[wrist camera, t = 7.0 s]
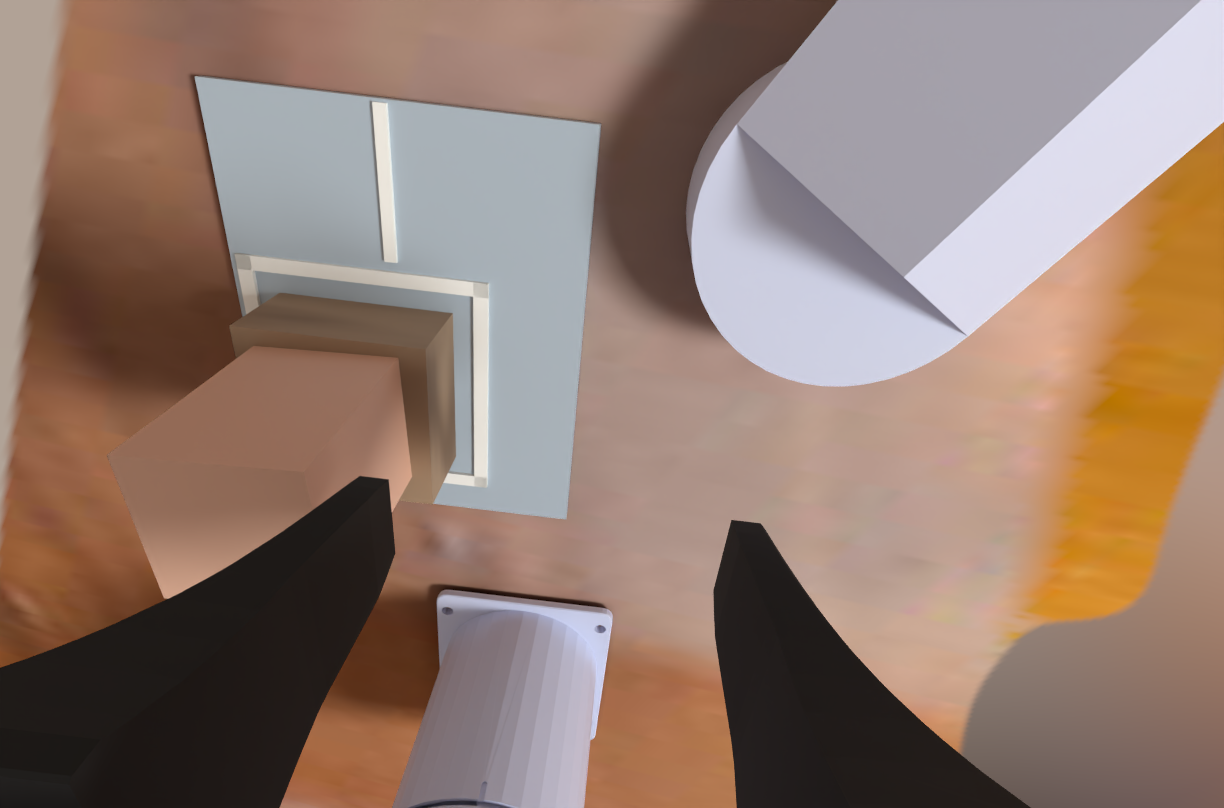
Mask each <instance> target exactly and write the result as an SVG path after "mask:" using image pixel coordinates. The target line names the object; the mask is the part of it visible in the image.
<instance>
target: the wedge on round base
mask: <svg viewBox="0 0 1224 808" xmlns="http://www.w3.org/2000/svg"><path fill="white" fill-rule="evenodd" d="M1223 122H1224V0H838V1H837V2H836V3H835V5H834V6H833V7H832V8H831V10H830V11H829V12H828V13H827V14H826V16H825V17H824V18H823V19H822V21H821V22H820V23H819V24H818V25H817V27H816V28H815V29H814V30H813V32H812V33H811V34H810V35H809V36H808V38H807V39H806V40H805V41H804V43H803V44H802V45H801V46H800V47H799V49H798V50H797V51H796V52H795V54H794V55H793V56H792V57H791V59H790V60H789V61H788V62H786V63H784V64H782V65H780V66H778V67H776V68H775V69H773V70H772V71H770V72H769V73H767V74H766V75H764V76H763V77H761V78H760V79H758V80H757V81H756V82H754V83H753V84H752V85H751V86H750V87H749V88H747V89H746V90H745V91H744V92H743V93H742V94H740V95H739V96H738V98H737V99H736V100H735V101H734V102H733V103H732V104H731V105H730V106H729V107H728V109H727V110H726V111H725V112H724V113H723V115H722V116H721V117H720V119H719V120H718V122H717V123H716V125H715V126H714V127H713V129H712V130H711V132H710V134H709V136H708V138H707V139H706V141H705V143H704V145H703V147H702V149H701V151H700V153H699V156H698V159H697V161H696V164H695V167H694V169H693V173H692V177H691V181H690V185H689V189H688V197H687V206H686V228H687V236H688V242H689V248H690V253H691V259H692V265H693V270H694V276H695V281H696V285H697V288H698V291H699V294H700V297H701V300H702V302H703V304H704V307H705V309H706V311H707V313H708V315H709V317H710V319H711V320H712V322H713V323H714V325H715V326H716V327H717V329H718V330H719V332H720V333H721V335H722V336H723V337H724V338H725V339H726V340H727V341H728V342H729V343H730V344H731V345H732V346H733V347H734V349H735V350H737V351H738V352H739V353H741V354H742V355H743V356H744V357H746V358H747V359H748V360H749V361H751V362H752V363H754V364H756V365H758V366H759V367H761V368H763V369H764V370H766V371H768V372H771V373H773V374H776V375H778V376H780V377H783V378H785V379H789V380H793V381H797V382H801V383H804V384H812V385H820V386H853V385H862V384H869V383H873V382H878V381H882V380H887V379H890V378H893V377H896V376H899V375H902V374H905V373H908V372H910V371H912V370H914V369H916V368H919V367H921V366H923V365H925V364H927V363H929V362H931V361H933V360H934V359H936V358H938V357H939V356H941V355H943V354H944V353H946V352H948V351H949V350H951V349H952V348H953V347H955V346H956V345H957V344H959V343H960V342H961V341H963V340H964V339H965V338H966V337H968V336H969V335H970V334H971V333H973V332H974V331H975V330H976V329H977V328H979V327H980V326H981V325H982V324H983V323H985V322H986V321H987V320H988V319H989V318H990V317H992V316H993V315H994V314H995V313H996V312H998V311H999V310H1000V309H1001V308H1002V307H1004V306H1005V305H1006V304H1007V303H1008V302H1010V301H1011V300H1012V299H1013V298H1014V297H1016V296H1017V295H1018V294H1019V293H1020V292H1021V291H1023V290H1024V289H1025V288H1026V287H1027V286H1029V285H1030V284H1031V283H1032V282H1033V281H1035V280H1036V279H1037V278H1038V277H1039V276H1041V275H1042V274H1043V273H1044V272H1045V271H1046V270H1048V269H1049V268H1050V267H1051V266H1052V265H1054V264H1055V263H1056V262H1057V261H1058V260H1060V259H1061V258H1062V257H1063V256H1064V255H1066V254H1067V253H1068V252H1069V251H1070V250H1072V249H1073V248H1074V247H1075V246H1076V245H1077V244H1079V243H1080V242H1081V241H1082V240H1083V239H1085V238H1086V237H1087V236H1088V235H1089V234H1091V233H1092V232H1093V231H1094V230H1095V229H1097V228H1098V227H1099V226H1100V225H1101V224H1102V223H1104V222H1105V221H1106V220H1107V219H1108V218H1110V217H1111V216H1112V215H1113V214H1114V213H1116V212H1117V211H1118V210H1119V209H1120V208H1122V207H1123V206H1124V205H1125V204H1126V203H1128V202H1129V201H1130V200H1131V199H1132V198H1133V197H1135V196H1136V195H1137V194H1138V193H1139V192H1141V191H1142V190H1143V189H1144V188H1145V187H1147V186H1148V185H1149V184H1150V183H1151V182H1153V181H1154V180H1155V179H1156V178H1157V177H1158V176H1160V175H1161V174H1162V173H1163V172H1164V171H1166V170H1167V169H1168V168H1169V167H1170V166H1172V165H1173V164H1174V163H1175V162H1176V161H1178V160H1179V159H1180V158H1181V157H1182V156H1184V155H1185V154H1186V153H1187V152H1188V151H1189V150H1191V149H1192V148H1193V147H1194V146H1195V145H1197V144H1198V143H1199V142H1200V141H1201V140H1203V139H1204V138H1205V137H1206V136H1207V135H1209V134H1210V133H1211V132H1212V131H1213V130H1214V129H1216V128H1217V127H1218V126H1219V125H1220V124H1222V123H1223Z"/></svg>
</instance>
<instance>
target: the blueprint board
mask: <svg viewBox="0 0 1224 808" xmlns="http://www.w3.org/2000/svg"><path fill="white" fill-rule="evenodd" d="M195 81H196V86H197V91H198V96H199V101H200V106H201V111H202V116H203V121H204V126H205V131H206V136H207V141H208V146H209V151H210V156H211V161H212V166H213V171H214V176H215V181H216V186H217V191H218V196H219V201H220V206H221V211H222V216H223V221H224V227H225V232H226V237H227V242H228V247H229V252H230V257H231V262H232V267H233V272H234V277H235V282H236V287H237V292H238V297H239V302H240V307H241V312H242V317H243V316H245V315H246V314H248V313H249V312H251V311H252V310H254V309H256V308H257V307H259V306H260V305H262V304H263V303H265V302H266V301H268V300H269V299H271V298H272V297H274V296H275V295H277V294H278V293H288V294H296V295H304V296H313V297H321V298H330V299H338V300H346V301H355V302H363V303H371V304H380V305H388V306H397V307H405V308H413V309H422V310H430V311H438V312H447V313H453V341H454V386H455V431H456V458H455V460H454V462H453V464H452V466H451V468H450V470H449V472H448V474H447V476H446V478H445V480H444V482H443V484H442V487H441V489H440V491H439V493H438V495H437V497H436V499H435V501H434V503H433V504H441V505H449V506H458V507H466V508H474V509H483V510H491V511H500V512H508V513H517V514H525V515H533V516H542V517H550V518H559V519H566V516H567V508H568V497H569V486H570V474H571V463H572V451H573V440H574V428H575V417H576V406H577V394H578V383H579V371H580V360H581V348H582V337H583V326H584V314H585V303H586V291H587V280H588V269H589V257H590V246H591V234H592V223H593V211H594V200H595V189H596V177H597V166H598V154H599V143H600V131H601V123H595V122H586V121H578V120H569V119H561V118H553V117H544V116H536V115H528V114H519V113H511V112H502V111H494V110H486V109H477V108H469V107H461V106H452V105H444V104H435V103H427V102H419V101H410V100H402V99H394V98H385V97H377V96H368V95H360V94H352V93H343V92H335V91H327V90H318V89H310V88H301V87H293V86H285V85H276V84H268V83H260V82H251V81H243V80H234V79H226V78H218V77H209V76H195Z"/></svg>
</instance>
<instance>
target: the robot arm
mask: <svg viewBox="0 0 1224 808" xmlns="http://www.w3.org/2000/svg"><path fill="white" fill-rule="evenodd" d="M394 555H395V544H394V533H393V522H392V510H391V499H390V488H389V479H382V478H373V477H365V476H359V477H358V478H356V479H355V480H353V481H352V482H350V483H349V484H348V485H346V486H345V487H343V488H342V489H341V490H339V491H338V492H337V493H335V494H334V495H333V496H331V497H330V498H328V499H327V500H326V501H324V502H323V503H322V504H320V505H319V506H317V507H316V508H315V509H313V510H312V511H311V512H309V513H308V514H306V515H305V516H304V517H302V518H301V519H299V520H298V521H296V522H295V523H294V524H292V525H291V526H289V527H288V528H286V529H285V530H284V531H282V532H281V533H279V534H278V535H276V536H275V537H273V538H272V539H270V540H268V541H267V542H265V543H264V544H262V545H261V546H259V547H258V548H256V549H254V550H253V551H251V552H250V553H248V554H247V555H245V556H244V557H242V558H240V559H239V560H237V561H236V562H234V563H233V564H231V565H229V566H227V567H226V568H224V569H222V570H221V571H219V572H217V573H215V574H214V575H212V576H210V577H208V578H207V579H205V580H203V581H201V582H199V583H197V584H196V585H194V586H192V587H190V588H188V589H186V590H184V591H183V592H181V593H179V594H177V595H175V596H173V597H171V598H169V599H167V600H165V601H163V602H160V603H158V604H156V605H154V606H152V607H150V608H148V609H145V610H143V611H141V612H139V613H137V614H135V615H133V616H131V617H128V618H126V619H124V620H122V621H120V622H118V623H116V624H113V625H111V626H109V627H106V628H104V629H102V630H99V631H97V632H94V633H92V634H90V635H87V636H85V637H82V638H80V639H78V640H75V641H72V642H70V643H67V644H65V645H62V646H60V647H57V648H54V649H52V650H49V651H47V652H44V653H41V654H39V655H36V656H33V657H30V658H28V659H25V660H22V661H19V662H16V663H13V664H10V665H7V666H4V667H1V668H0V808H279V807H280V805H281V802H282V800H283V797H284V795H285V792H286V790H287V787H288V785H289V782H290V779H291V777H292V774H293V772H294V769H295V767H296V764H297V762H298V759H299V757H300V754H301V752H302V750H303V747H304V745H305V742H306V740H307V738H308V735H309V733H310V730H311V728H312V726H313V723H314V721H315V718H316V716H317V714H318V712H319V710H320V708H321V706H322V703H323V701H324V699H325V697H326V695H327V693H328V691H329V689H330V688H331V686H332V684H333V682H334V680H335V678H336V676H337V674H338V673H339V671H340V669H341V667H342V665H343V663H344V661H345V660H346V658H347V656H348V654H349V652H350V650H351V648H352V647H353V645H354V643H355V641H356V639H357V637H358V635H359V634H360V632H361V630H362V628H363V626H364V624H365V622H366V620H367V618H368V617H369V615H370V613H371V611H372V609H373V607H374V605H375V603H376V601H377V599H378V597H379V595H380V592H381V590H382V587H383V585H384V582H385V580H386V577H387V574H388V572H389V569H390V566H391V563H392V561H393V558H394ZM447 607H449V608H447ZM450 608H451V609H450ZM612 619H613V616H612V613H611V611H609V610H608V609H605V608H600V607H592V606H583V605H575V604H566V603H558V602H549V601H541V600H533V599H524V598H516V597H507V596H499V595H490V594H482V593H474V592H465V591H457V590H443V591H441V592H440V593H439V595H438V598H437V622H438V642H439V663H440V670H439V673H438V676H437V679H436V681H435V684H434V687H433V690H432V693H431V696H430V699H429V702H428V705H427V708H426V711H425V713H424V716H423V719H422V722H421V725H420V728H419V731H418V734H417V737H416V740H415V742H414V745H413V748H412V751H411V754H410V757H409V760H408V763H407V766H406V769H405V771H404V774H403V777H402V780H401V783H400V786H399V789H398V792H397V795H396V798H395V801H394V803H393V806H392V808H584V802H585V791H586V780H587V769H588V758H589V748H590V740H592V739H593V738H594V737H595V734H596V728H597V721H598V714H599V708H600V701H601V694H602V687H603V681H604V674H605V667H606V661H607V654H608V647H609V641H610V634H611V627H612ZM714 622H715V639H716V646H717V652H718V659H719V665H720V672H721V678H722V685H723V691H724V697H725V703H726V710H727V716H728V722H729V728H730V735H731V741H732V750H733V758H734V769H735V786H736V802H737V808H1030V807H1029V806H1028V805H1026V804H1025V803H1023V802H1022V801H1021V800H1019V799H1018V798H1017V797H1015V796H1014V795H1013V794H1011V793H1010V792H1008V791H1007V790H1006V789H1004V788H1003V787H1002V786H1000V785H999V784H998V783H996V782H995V781H994V780H992V779H991V778H989V777H988V776H987V775H985V774H984V773H983V772H981V771H980V770H979V769H978V768H976V767H975V766H974V765H973V764H971V763H970V762H969V761H968V760H967V759H965V758H964V757H963V756H962V755H960V754H959V753H958V752H957V751H956V750H954V749H953V748H952V747H951V746H950V745H948V744H947V743H946V742H945V741H943V740H942V739H941V738H940V737H939V736H938V735H937V734H935V733H934V732H933V731H932V730H931V729H930V728H929V727H927V726H926V725H925V724H924V723H923V722H922V721H921V720H920V719H919V718H917V717H916V716H915V715H914V714H913V713H912V712H911V711H910V710H909V709H908V708H907V707H906V706H905V705H904V704H903V703H902V702H900V701H899V700H898V699H897V698H896V697H895V696H894V695H893V694H892V693H891V692H890V691H889V690H888V689H887V688H886V687H885V686H884V685H883V684H882V683H881V682H880V681H879V680H878V679H877V678H876V677H875V676H874V675H873V673H872V672H871V671H870V670H869V669H868V668H867V667H866V666H865V665H864V664H863V663H862V662H861V660H860V659H859V658H858V657H857V656H856V655H855V654H854V653H853V652H852V651H851V649H850V648H849V647H848V646H847V645H846V643H845V642H844V641H843V640H842V639H841V637H840V636H839V635H838V634H837V632H836V631H835V630H834V629H833V627H832V626H831V625H830V624H829V622H828V621H827V620H826V618H825V617H824V616H823V615H822V613H821V612H820V611H819V609H818V608H817V607H816V605H815V604H814V602H813V601H812V600H811V598H810V597H809V595H808V594H807V593H806V591H805V590H804V588H803V587H802V586H801V584H800V583H799V581H798V580H797V578H796V577H795V575H794V574H793V572H792V571H791V569H790V568H789V566H788V565H787V563H786V562H785V560H784V559H783V557H782V556H781V554H780V552H779V551H778V549H777V548H776V546H775V545H774V543H773V541H772V540H771V538H770V537H769V535H768V533H767V532H766V530H765V529H764V527H763V526H762V525H761V524H760V523H752V522H744V521H735V520H731V524H730V528H729V532H728V536H727V540H726V544H725V548H724V552H723V556H722V560H721V563H720V567H719V571H718V575H717V579H716V583H715V587H714ZM597 625H602V626H597Z"/></svg>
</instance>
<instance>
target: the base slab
mask: <svg viewBox="0 0 1224 808" xmlns="http://www.w3.org/2000/svg"><path fill="white" fill-rule="evenodd" d="M229 328H230V333H231V338H232V343H233V347H234V352H235V357H236V358H238V357H239V356H241V355H242V354H243V353H245V352H246V351H247V350H249V349H250V348H251V347H253V346H262V347H274V348H286V349H298V350H310V351H323V352H335V353H347V354H359V355H371V356H384V357H396V358H398V360H399V368H400V377H401V386H402V394H403V403H404V412H405V420H406V429H407V438H408V446H409V455H410V464H411V472H412V478H411V479H410V481H409V483H408V485H407V487H406V488H405V490H404V492H403V494H402V495H401V497H400V499H399V501H407V502H415V503H424V504H432V505H433V503H434V501H435V499H436V497H437V495H438V493H439V491H440V489H441V487H442V484H443V482H444V480H445V478H446V476H447V474H448V472H449V470H450V468H451V466H452V464H453V462H454V460H455V458H456V431H455V386H454V341H453V313H447V312H438V311H430V310H422V309H413V308H405V307H397V306H388V305H380V304H371V303H363V302H355V301H346V300H338V299H330V298H321V297H313V296H304V295H296V294H288V293H278V294H277V295H275V296H274V297H272V298H271V299H269V300H268V301H266V302H265V303H263V304H262V305H260V306H259V307H257V308H256V309H254V310H252V311H251V312H249V313H248V314H246V315H245V316H243V317H242V318H240V319H239V320H237V321H236V322H234V323H233V324H231V325H230V326H229Z"/></svg>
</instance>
